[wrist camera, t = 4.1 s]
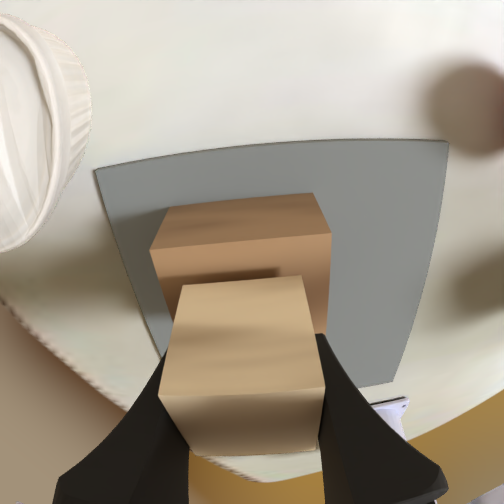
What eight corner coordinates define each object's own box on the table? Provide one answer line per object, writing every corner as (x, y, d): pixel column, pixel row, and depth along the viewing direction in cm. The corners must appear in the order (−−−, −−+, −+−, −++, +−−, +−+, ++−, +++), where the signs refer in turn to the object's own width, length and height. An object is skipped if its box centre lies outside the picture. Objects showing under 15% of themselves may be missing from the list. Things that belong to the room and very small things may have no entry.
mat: (391, 378, 25) (392, 381, 24) (183, 398, 25) (183, 402, 25) (445, 140, 14) (449, 142, 14) (98, 168, 15) (95, 171, 14)
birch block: (301, 352, 14) (315, 449, 10) (205, 359, 15) (195, 455, 10) (301, 275, 12) (325, 386, 8) (182, 285, 12) (157, 395, 8)
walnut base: (312, 302, 19) (324, 353, 16) (196, 312, 19) (188, 363, 16) (312, 192, 15) (331, 233, 12) (169, 206, 16) (149, 249, 12)
